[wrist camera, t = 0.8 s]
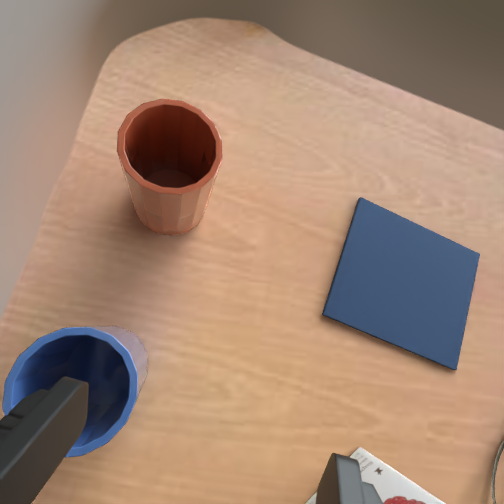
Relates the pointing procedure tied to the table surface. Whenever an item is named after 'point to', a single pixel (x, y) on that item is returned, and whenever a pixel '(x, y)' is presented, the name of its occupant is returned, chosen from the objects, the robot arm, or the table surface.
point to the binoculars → (503, 446)
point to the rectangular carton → (388, 482)
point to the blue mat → (403, 284)
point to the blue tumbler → (85, 376)
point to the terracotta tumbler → (169, 163)
